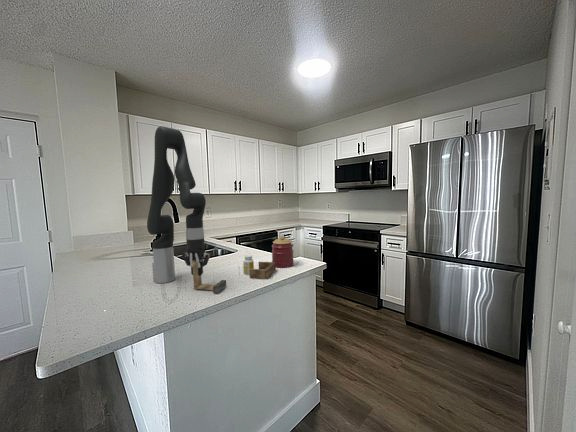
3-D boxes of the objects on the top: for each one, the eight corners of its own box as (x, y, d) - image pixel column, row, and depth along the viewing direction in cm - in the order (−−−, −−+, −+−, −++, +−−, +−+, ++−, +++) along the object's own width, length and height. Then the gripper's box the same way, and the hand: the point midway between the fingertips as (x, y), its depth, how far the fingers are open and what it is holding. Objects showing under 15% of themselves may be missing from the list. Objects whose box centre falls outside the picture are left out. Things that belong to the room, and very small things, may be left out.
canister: (284, 260, 157) (283, 233, 155) (298, 264, 147) (297, 235, 145) (267, 265, 148) (266, 236, 147) (281, 269, 138) (280, 238, 137)
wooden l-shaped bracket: (190, 291, 109) (188, 262, 108) (200, 284, 117) (199, 257, 115) (217, 293, 106) (216, 263, 105) (226, 286, 114) (224, 258, 112)
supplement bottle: (243, 275, 130) (242, 257, 130) (244, 272, 136) (243, 255, 135) (253, 274, 131) (253, 256, 130) (254, 271, 136) (253, 254, 135)
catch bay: (249, 278, 125) (249, 269, 125) (259, 269, 140) (259, 261, 139) (267, 279, 123) (267, 270, 123) (275, 270, 138) (275, 262, 137)
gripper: (176, 238, 108) (178, 276, 110) (204, 239, 105) (206, 278, 107) (186, 235, 115) (188, 271, 117) (213, 236, 112) (215, 273, 114)
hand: (197, 274), depth 112 cm, fingers closed on wooden l-shaped bracket, 2 cm apart
